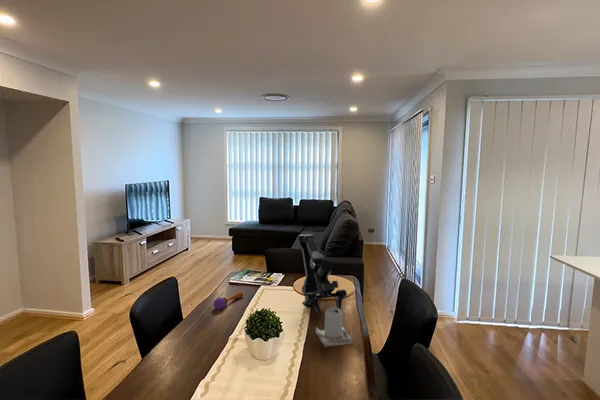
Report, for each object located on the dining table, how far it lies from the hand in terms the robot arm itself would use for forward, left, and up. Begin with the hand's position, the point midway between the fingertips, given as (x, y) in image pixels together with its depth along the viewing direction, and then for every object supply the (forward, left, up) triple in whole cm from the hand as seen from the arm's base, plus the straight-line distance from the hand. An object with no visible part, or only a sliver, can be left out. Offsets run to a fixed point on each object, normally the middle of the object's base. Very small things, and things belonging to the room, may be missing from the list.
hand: (330, 314), depth 143 cm
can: (+4, -1, -8) cm, 9 cm away
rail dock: (+4, -1, -8) cm, 9 cm away
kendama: (-49, -30, -9) cm, 59 cm away
